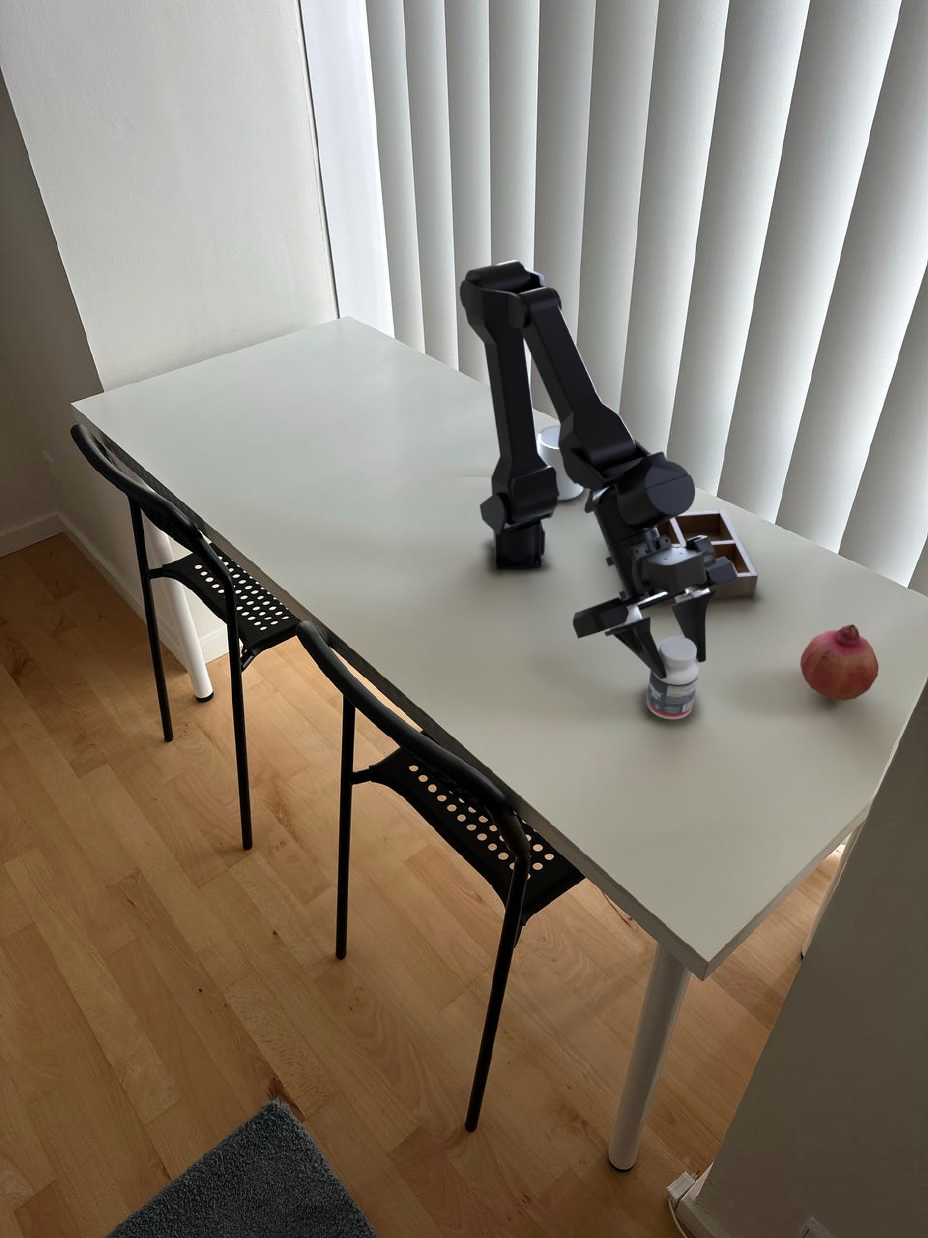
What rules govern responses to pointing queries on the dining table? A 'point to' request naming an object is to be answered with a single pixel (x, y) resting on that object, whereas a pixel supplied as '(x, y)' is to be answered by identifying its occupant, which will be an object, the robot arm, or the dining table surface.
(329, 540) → the dining table surface
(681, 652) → the pill bottle
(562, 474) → the cup
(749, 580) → the divided tray
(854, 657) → the fruit
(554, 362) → the robot arm
